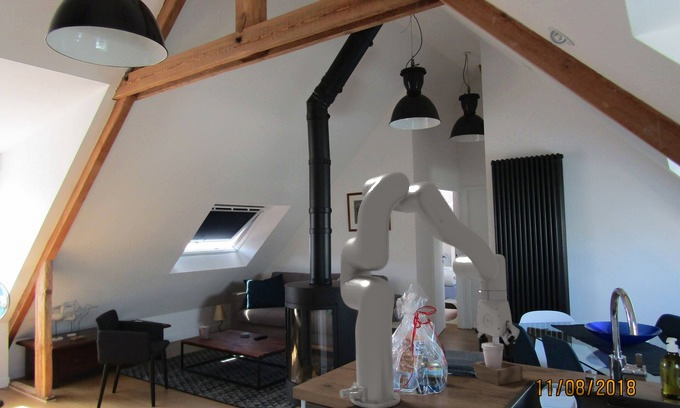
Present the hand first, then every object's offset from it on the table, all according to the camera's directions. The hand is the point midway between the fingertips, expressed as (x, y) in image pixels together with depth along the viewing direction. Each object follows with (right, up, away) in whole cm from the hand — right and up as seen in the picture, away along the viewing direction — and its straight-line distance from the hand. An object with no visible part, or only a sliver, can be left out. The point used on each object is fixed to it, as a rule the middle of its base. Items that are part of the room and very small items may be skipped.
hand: (496, 354), depth 139 cm
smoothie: (0, -7, 0) cm, 7 cm away
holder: (0, -7, -1) cm, 7 cm away
